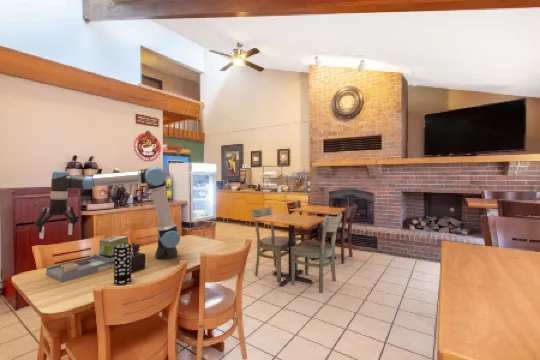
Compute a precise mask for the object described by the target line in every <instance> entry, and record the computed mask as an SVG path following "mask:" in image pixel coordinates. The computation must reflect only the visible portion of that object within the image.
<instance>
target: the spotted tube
mask: <svg viewBox="0 0 540 360" xmlns="http://www.w3.org/2000/svg"><path fill="white" fill-rule="evenodd" d="M131 251H132V244H129V243H128V244H120V245H116V246H114V262H113V284H114V285H115V286H124V285H128V284H130V283H132V273H131Z"/></svg>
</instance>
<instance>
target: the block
mask: <svg viewBox="0 0 540 360" xmlns="http://www.w3.org/2000/svg"><path fill="white" fill-rule="evenodd" d="M77 270H78V264H75V263H69V264H65V265H61V273H63V274H66V273H69V272H73V271H77Z"/></svg>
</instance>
